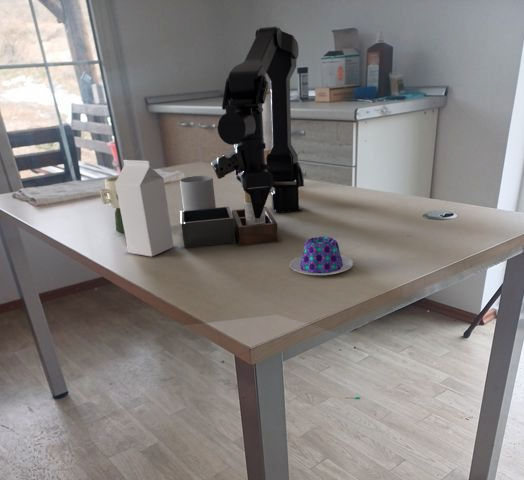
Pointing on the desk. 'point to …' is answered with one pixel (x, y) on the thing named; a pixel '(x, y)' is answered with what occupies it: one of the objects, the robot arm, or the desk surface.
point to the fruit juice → (267, 125)
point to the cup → (197, 192)
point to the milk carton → (144, 209)
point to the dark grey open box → (207, 227)
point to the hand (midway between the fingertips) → (254, 213)
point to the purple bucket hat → (321, 258)
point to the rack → (255, 229)
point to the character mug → (113, 201)
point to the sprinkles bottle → (250, 214)
